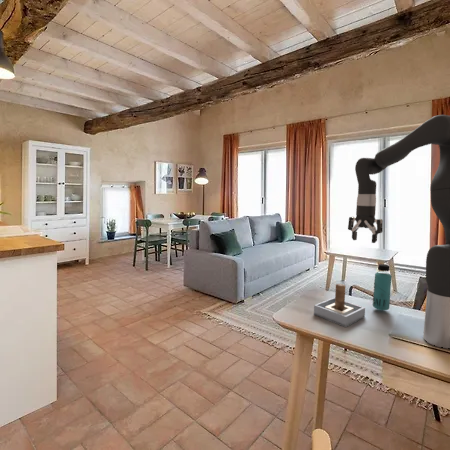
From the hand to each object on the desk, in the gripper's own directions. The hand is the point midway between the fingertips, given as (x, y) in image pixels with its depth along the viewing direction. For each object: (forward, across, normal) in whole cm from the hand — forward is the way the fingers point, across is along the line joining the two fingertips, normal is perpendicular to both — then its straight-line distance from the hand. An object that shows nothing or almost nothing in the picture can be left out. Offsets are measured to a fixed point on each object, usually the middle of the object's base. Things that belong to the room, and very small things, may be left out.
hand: (363, 241), depth 130 cm
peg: (+27, -2, +20) cm, 34 cm away
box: (+28, -2, +20) cm, 35 cm away
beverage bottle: (+28, -10, +2) cm, 30 cm away
